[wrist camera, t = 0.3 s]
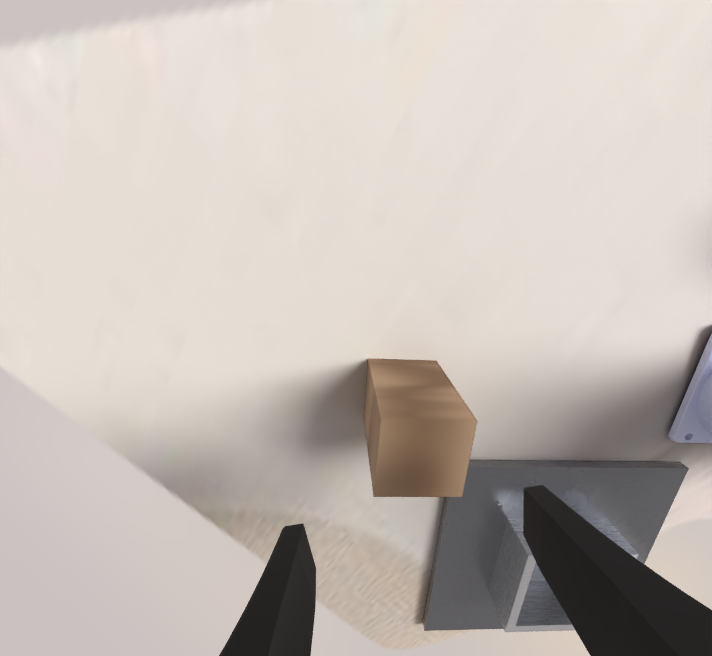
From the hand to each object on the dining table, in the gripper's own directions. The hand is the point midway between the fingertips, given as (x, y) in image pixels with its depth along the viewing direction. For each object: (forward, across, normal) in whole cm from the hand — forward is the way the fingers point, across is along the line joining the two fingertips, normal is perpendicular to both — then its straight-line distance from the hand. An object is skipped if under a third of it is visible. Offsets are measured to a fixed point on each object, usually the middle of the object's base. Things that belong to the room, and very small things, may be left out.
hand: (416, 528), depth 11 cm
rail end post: (+10, -1, 0) cm, 10 cm away
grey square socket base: (+10, -10, +16) cm, 21 cm away
